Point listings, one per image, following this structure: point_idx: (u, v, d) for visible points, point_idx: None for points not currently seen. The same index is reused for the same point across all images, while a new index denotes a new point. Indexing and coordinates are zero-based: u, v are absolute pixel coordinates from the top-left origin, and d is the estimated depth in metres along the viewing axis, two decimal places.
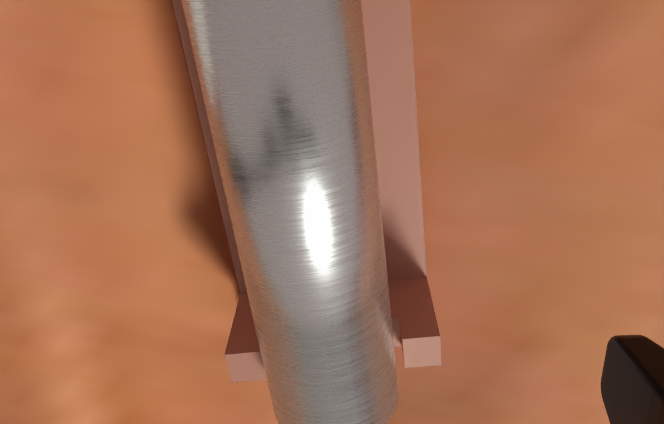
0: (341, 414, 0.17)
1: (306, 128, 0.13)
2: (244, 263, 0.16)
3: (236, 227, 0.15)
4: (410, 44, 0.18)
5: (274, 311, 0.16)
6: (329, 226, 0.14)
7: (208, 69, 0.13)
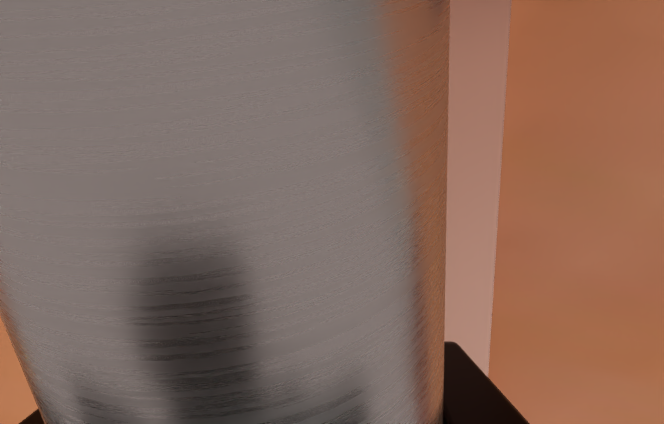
0: None
1: None
2: None
3: None
4: (493, 217, 0.10)
5: None
6: None
7: None
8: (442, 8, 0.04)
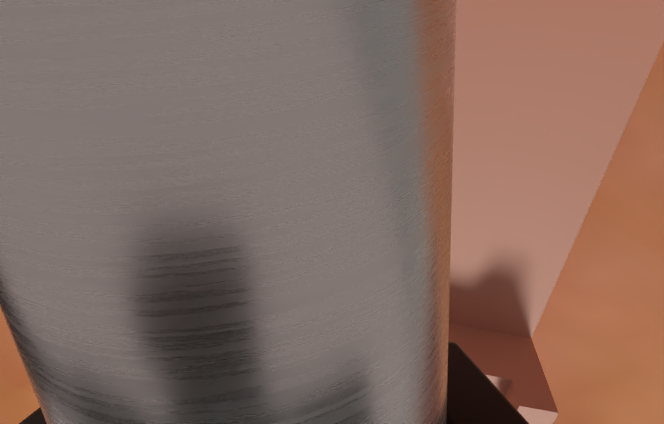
0: None
1: None
2: None
3: None
4: (631, 107, 0.17)
5: None
6: None
7: None
8: None
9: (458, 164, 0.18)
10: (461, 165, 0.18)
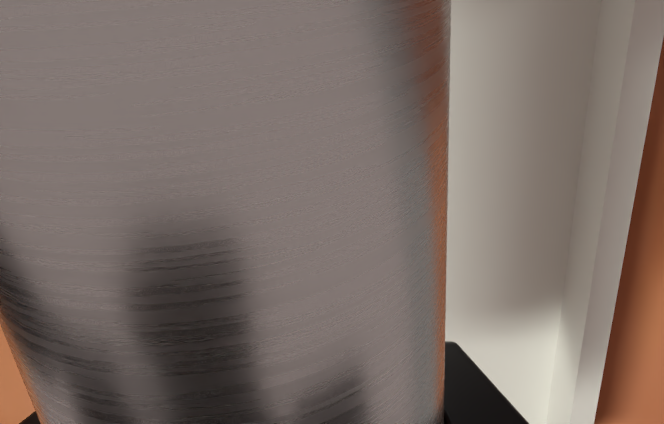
0: None
1: None
2: None
3: None
4: None
5: None
6: None
7: None
8: None
9: None
10: None
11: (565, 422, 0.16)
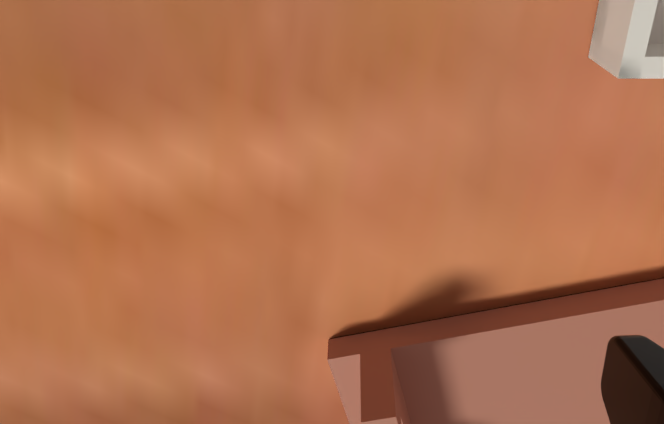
0: None
1: None
2: None
3: None
4: None
5: None
6: None
7: None
8: None
9: (550, 375, 0.23)
10: (550, 376, 0.24)
11: None
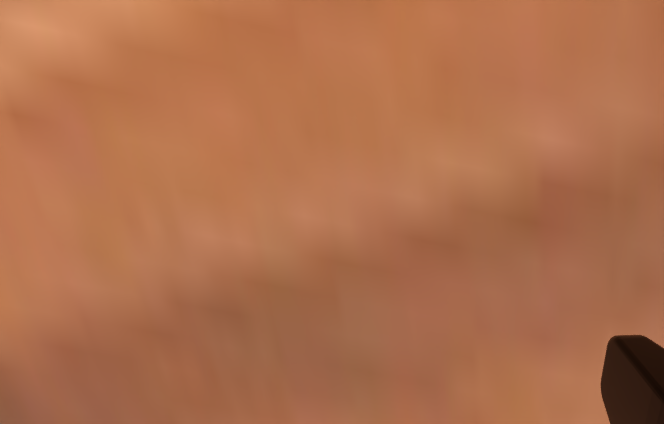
0: None
1: None
2: None
3: None
4: None
5: None
6: None
7: None
8: None
9: None
10: None
11: None
